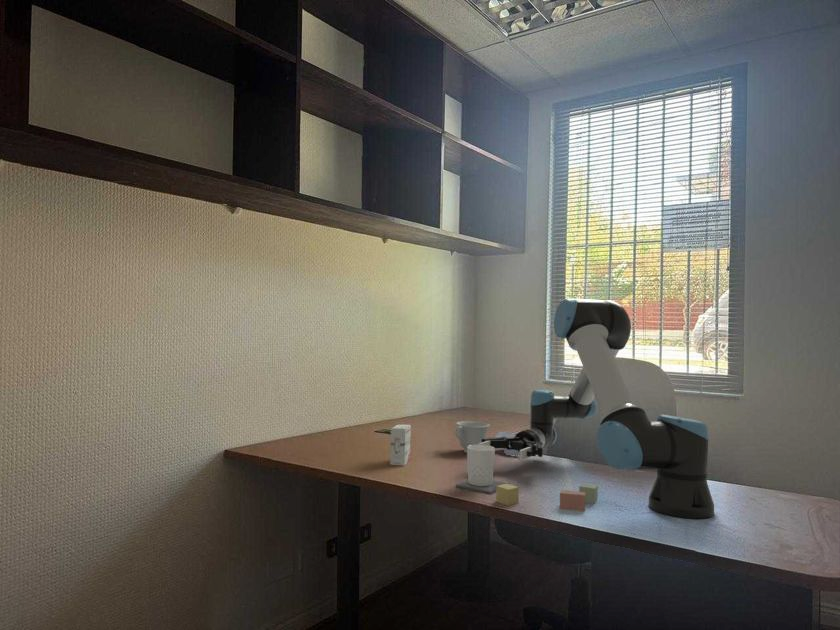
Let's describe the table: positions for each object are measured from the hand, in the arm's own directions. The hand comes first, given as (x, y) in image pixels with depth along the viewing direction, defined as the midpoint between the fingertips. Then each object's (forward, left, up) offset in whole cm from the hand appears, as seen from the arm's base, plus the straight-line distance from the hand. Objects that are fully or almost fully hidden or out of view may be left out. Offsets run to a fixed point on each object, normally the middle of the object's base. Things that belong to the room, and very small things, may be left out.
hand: (499, 451), depth 174 cm
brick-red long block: (-27, +13, -8) cm, 31 cm away
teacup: (+25, -26, -8) cm, 37 cm away
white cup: (+1, +9, -8) cm, 12 cm away
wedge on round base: (+13, -36, -8) cm, 40 cm away
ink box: (+34, +3, -8) cm, 35 cm away
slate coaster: (0, +10, -8) cm, 12 cm away
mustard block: (-12, +19, -8) cm, 24 cm away
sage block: (-28, +4, -8) cm, 29 cm away
